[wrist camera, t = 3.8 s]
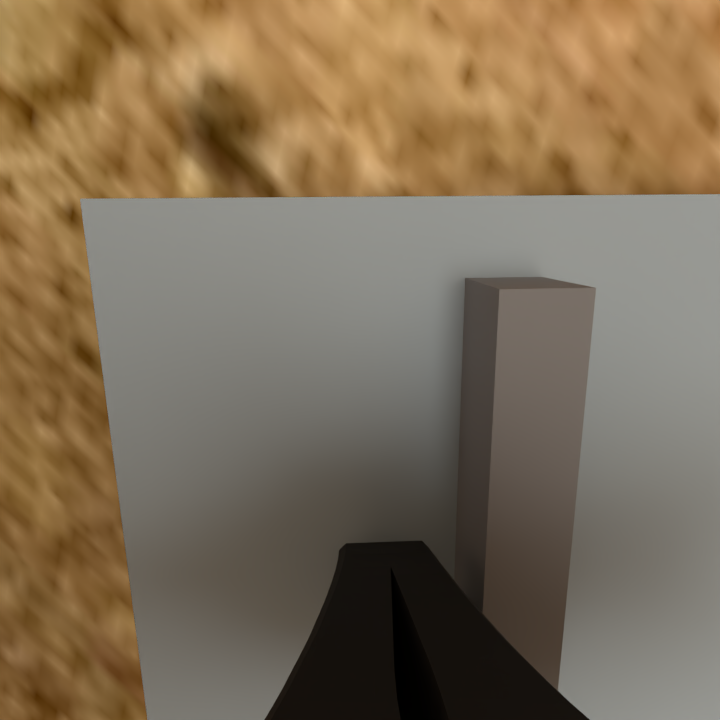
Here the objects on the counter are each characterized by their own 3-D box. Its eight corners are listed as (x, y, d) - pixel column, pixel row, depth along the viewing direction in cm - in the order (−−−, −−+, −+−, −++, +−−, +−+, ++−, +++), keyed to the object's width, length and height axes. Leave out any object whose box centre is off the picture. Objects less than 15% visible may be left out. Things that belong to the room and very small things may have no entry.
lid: (175, 814, 11) (132, 969, 9) (101, 201, 8) (8, 188, 6) (996, 764, 12) (1158, 893, 10) (1193, 193, 9) (1493, 179, 7)
